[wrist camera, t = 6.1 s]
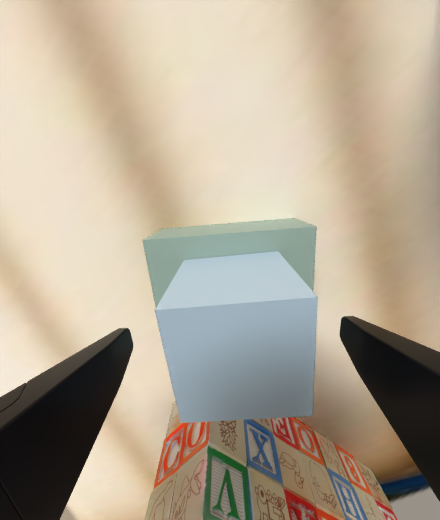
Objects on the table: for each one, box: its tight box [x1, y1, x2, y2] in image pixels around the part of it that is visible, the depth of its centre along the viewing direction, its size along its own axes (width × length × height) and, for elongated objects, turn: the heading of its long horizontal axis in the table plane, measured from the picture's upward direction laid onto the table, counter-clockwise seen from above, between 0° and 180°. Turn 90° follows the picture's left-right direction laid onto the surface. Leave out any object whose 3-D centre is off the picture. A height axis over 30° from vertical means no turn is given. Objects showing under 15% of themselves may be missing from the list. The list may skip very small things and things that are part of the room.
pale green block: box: [143, 218, 316, 307], centre depth 14 cm, size 9×7×4 cm
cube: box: [155, 251, 317, 423], centre depth 10 cm, size 5×5×5 cm
